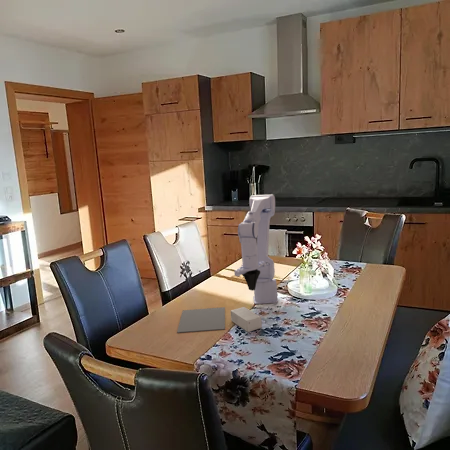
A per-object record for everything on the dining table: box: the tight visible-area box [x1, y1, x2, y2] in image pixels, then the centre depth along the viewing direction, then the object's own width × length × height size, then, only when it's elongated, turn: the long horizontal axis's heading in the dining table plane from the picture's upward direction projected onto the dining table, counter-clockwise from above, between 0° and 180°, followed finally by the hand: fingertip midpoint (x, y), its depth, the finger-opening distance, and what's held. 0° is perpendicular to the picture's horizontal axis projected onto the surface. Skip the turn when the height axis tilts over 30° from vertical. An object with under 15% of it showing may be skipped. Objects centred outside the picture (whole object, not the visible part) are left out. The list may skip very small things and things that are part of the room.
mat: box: [176, 306, 226, 334], centre depth 158 cm, size 17×20×1 cm
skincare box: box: [230, 306, 263, 333], centre depth 150 cm, size 6×4×12 cm
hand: (252, 289), depth 156 cm, fingers closed
